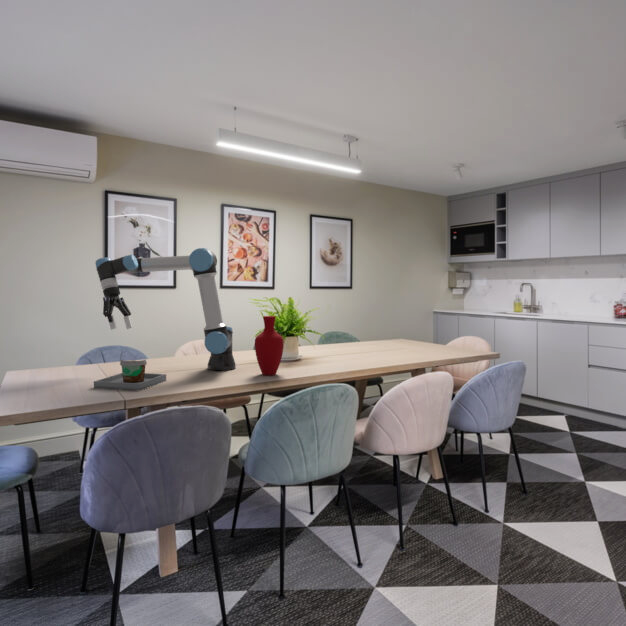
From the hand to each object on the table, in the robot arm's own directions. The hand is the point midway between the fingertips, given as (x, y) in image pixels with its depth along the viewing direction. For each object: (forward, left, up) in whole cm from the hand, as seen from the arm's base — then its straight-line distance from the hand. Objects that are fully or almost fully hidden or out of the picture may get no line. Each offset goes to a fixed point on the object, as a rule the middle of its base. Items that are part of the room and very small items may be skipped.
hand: (122, 328), depth 221 cm
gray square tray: (-17, +18, -23) cm, 34 cm away
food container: (-17, +19, -22) cm, 34 cm away
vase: (-71, -19, -23) cm, 77 cm away
